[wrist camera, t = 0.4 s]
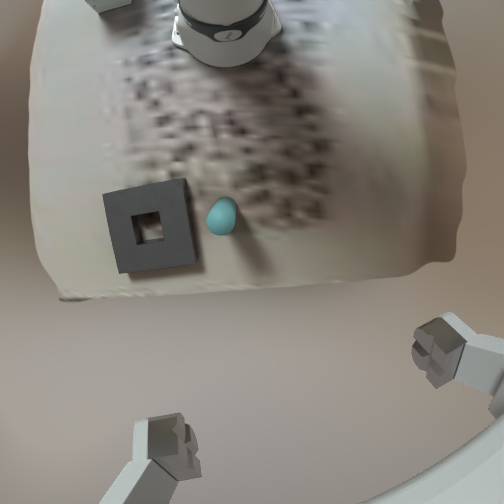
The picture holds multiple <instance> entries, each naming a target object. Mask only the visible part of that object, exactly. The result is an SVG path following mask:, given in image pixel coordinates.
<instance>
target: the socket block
mask: <svg viewBox="0 0 504 504" xmlns="http://www.w3.org/2000/svg"><path fill="white" fill-rule="evenodd" d="M102 195H103V201H104V206H105V212H106V217H107V222H108V227H109V232H110V236H111V241H112V246H113V250H114V254H115V259H116V263H117V267H118V271H119V274H121V273H129V272H136V271H144V270H152V269H160V268H167V267H175V266H183V265H190V264H196V262H197V260H198V255H197V249H196V243H195V238H194V232H193V226H192V220H191V214H190V208H189V201H188V195H187V188H186V182H185V178H180V179H175V180H169V181H164V182H158V183H153V184H148V185H143V186H138V187H133V188H128V189H123V190H119V191H114V192H109V193H105V194H102ZM156 211H159V214H160V220H161V225H162V231H163V236H164V238H158V239H152V240H145V241H142V239H141V234H140V229H139V224H138V219H137V215H139V214H144V213H150V212H156Z"/></svg>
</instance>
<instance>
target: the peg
mask: <svg viewBox="0 0 504 504" xmlns="http://www.w3.org/2000/svg"><path fill="white" fill-rule="evenodd" d="M236 209H237V207H236V203H235V201H234V200H233V199H231V198H229V197H223V198H220V199H219V200H218V201H217V202H216V204H215V205H214V207H213V208H212V210H211V211H210V212H209V214H208V216H207V221H206V222H207V226H208V228H209V230H210V231H211V232H212V233H214V234H216V235H226V234H228V233H230V232H231V231H232V230H233V228H234V226H235V219H236Z"/></svg>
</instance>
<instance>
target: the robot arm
mask: <svg viewBox="0 0 504 504" xmlns="http://www.w3.org/2000/svg"><path fill="white" fill-rule="evenodd" d="M174 2H175V4H177V9H175V10H174V15H175V21H174V27H173V33H172V43H173V44H174V45H175V46H177V47H180V48H183V49H186V50H188V51H189V52H190V53H191V54H192V55H193V56H194V57H195V58H197V59H198V60H200V61H201V62H203V63H205V64H208V65H211V66H216V67H233V66H238V65H241V64H244V63H247V62H249V61H250V60H252V59H254V58H255V57H256V56H258V55H259V54H260V53H261V51H262V50H263V49H264V47H265V46H266V44H267V42H268V41H269V40H270V39H271V38H272V37H274V36H275V35H277V34H278V33H279V32H280V31H281V29H282V25H281V23H280V20H279V18H278V16H277V14H276V12H275V9H274V7H273V5H272V3H271V1H270V0H174ZM178 33H179V35H177V34H178ZM414 338H415V339H416V341H415V342H414V344H413V346H412V357H413V360H414V362H415V364H416V365H417V367H418V368H419V369H421V370H424V371H426V378H427V379H428V380H429V381H430V382H431V383H432V385H433V386H434V387H435V388H436V389H437V388H439V387H440V386H442V385H444V384H445V383H447V382H449V381H451V380H452V379H454V380H456V381H458V382H461V383H463V384H465V385H468V386H470V387H473V388H475V389H477V390H480V391H482V392H485V393H487V394H489V395H492V396H494V398H493V400H492V401H491V403H490V405H489V408H488V410H489V411H490V412H491V414H492V415H493V416H494V417H495V419H496V420H495V421H494V422H492V423H491V424H490V425H489V426H488V427H486V428H485V429H484V430H483V431H481V432H480V433H479V434H477V435H476V436H475V437H474V438H472V439H471V440H470V441H468V442H467V443H466V444H464V445H463V446H461V447H460V448H458V449H457V450H455V451H454V452H453V453H451V454H450V455H448V456H447V457H445V458H444V459H442V460H441V461H439V462H437V463H436V464H434V465H433V466H431V467H429V468H428V469H426V470H425V471H423V472H421V473H419V474H417V475H416V476H414V477H412V478H410V479H409V480H407V481H405V482H403V483H401V484H399V485H397V486H395V487H393V488H392V489H389V490H387V491H385V492H383V493H381V494H379V495H377V496H375V497H373V498H370V499H368V500H366V501H364V502H361V503H359V504H504V339H501V338H497V337H493V336H489V335H485V334H479V335H477V334H476V333H475V332H474V331H473V330H472V329H470V328H469V327H468V326H467V325H466V324H465V323H464V322H462V321H461V320H460V319H459V318H458V317H457V316H456V315H454V314H453V313H452V312H449V311H448V312H446V313H445V314H443V315H441V316H439V317H437V318H435V319H433V320H431V321H429V322H427V323H425V324H424V325H422V326H420V327H418V328H416V330H415V331H414ZM197 451H198V444H197V440H196V437H195V434H194V432H193V429H192V428H191V427H190V425H188V424H185V422H184V417H183V416H182V415H181V413H174V414H169V415H163V416H157V417H150V418H145V419H138V420H136V421H135V424H134V435H133V455H132V461H129V462H128V463H127V464H126V466H125V467H124V469H123V470H122V471H121V473H120V474H119V476H118V477H117V479H116V480H115V482H114V483H113V485H112V486H111V487H110V489H109V490H108V491H107V493H106V494H105V496H104V497H103V499H102V500H101V501H100V503H99V504H168V503H169V501H170V499H171V497H172V495H173V493H174V491H175V489H176V487H177V484H178V482H177V481H182V480H188V479H193V478H199V477H202V476H201V468H200V461H199V459H197V457H196V456H195V454H196V452H197Z"/></svg>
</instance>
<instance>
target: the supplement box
mask: <svg viewBox="0 0 504 504" xmlns="http://www.w3.org/2000/svg"><path fill="white" fill-rule="evenodd" d="M85 1H86V2H87V3H88V4H89V5H90V6H91V7H92V8H93V9H94V10H95V11H96V12H97V13H101V12H104V11H107V10H110V9H114V8H117V7H121V6H125V5H130V4H131V3H132V0H85Z"/></svg>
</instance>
